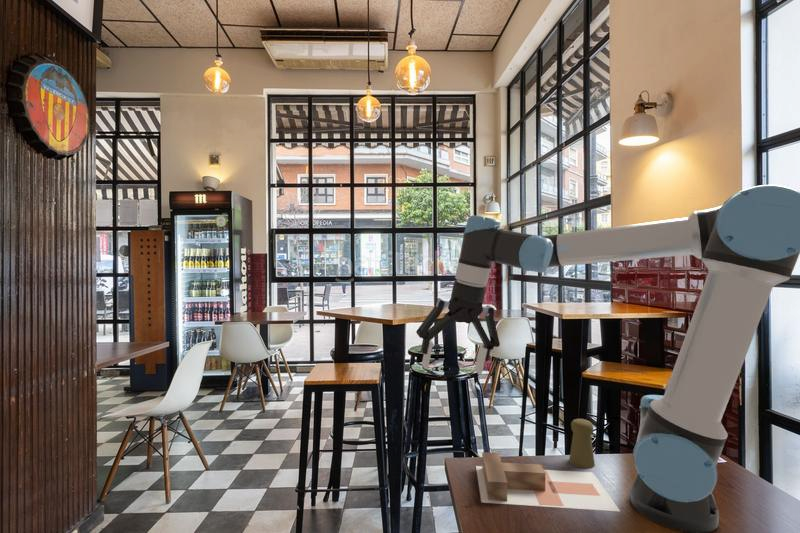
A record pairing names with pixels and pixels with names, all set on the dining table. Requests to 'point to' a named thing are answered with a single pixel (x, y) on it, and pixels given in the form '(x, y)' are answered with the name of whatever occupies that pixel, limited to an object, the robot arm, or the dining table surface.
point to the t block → (510, 476)
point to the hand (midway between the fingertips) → (451, 370)
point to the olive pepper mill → (582, 444)
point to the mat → (558, 492)
